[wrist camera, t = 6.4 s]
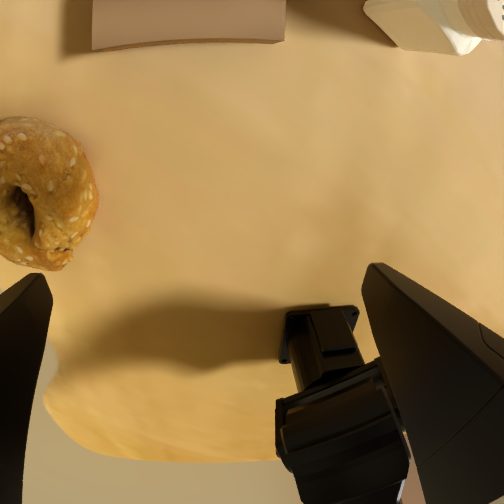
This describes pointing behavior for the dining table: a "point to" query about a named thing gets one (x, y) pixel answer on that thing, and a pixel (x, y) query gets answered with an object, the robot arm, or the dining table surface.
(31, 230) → the bagel
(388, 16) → the pepper shaker
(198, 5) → the walnut block
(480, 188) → the dining table surface
